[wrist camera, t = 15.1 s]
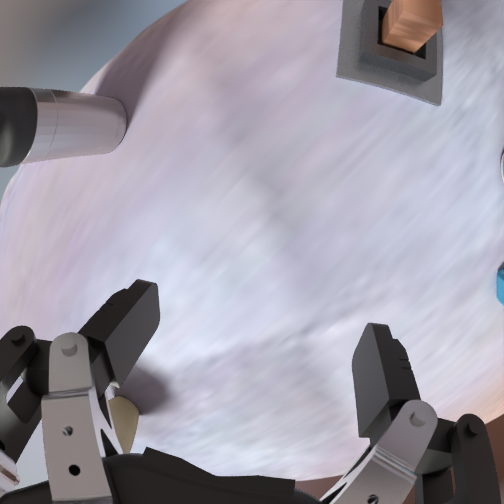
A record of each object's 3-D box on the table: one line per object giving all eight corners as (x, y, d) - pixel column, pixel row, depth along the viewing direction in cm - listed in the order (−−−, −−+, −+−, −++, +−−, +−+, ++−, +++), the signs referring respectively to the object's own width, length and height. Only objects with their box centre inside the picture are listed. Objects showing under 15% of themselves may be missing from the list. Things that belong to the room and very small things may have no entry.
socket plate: (335, 77, 29) (339, 65, 25) (343, -6, 24) (346, -24, 20) (437, 106, 27) (453, 101, 23) (438, 23, 22) (451, 10, 18)
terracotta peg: (378, 51, 26) (403, 10, 15) (379, 26, 25) (401, -18, 13) (407, 59, 25) (443, 25, 14) (407, 35, 24) (439, -4, 13)
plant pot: (161, 414, 57) (131, 463, 42) (141, 430, 63) (115, 471, 48) (110, 375, 56) (73, 419, 41) (97, 396, 62) (66, 434, 47)
